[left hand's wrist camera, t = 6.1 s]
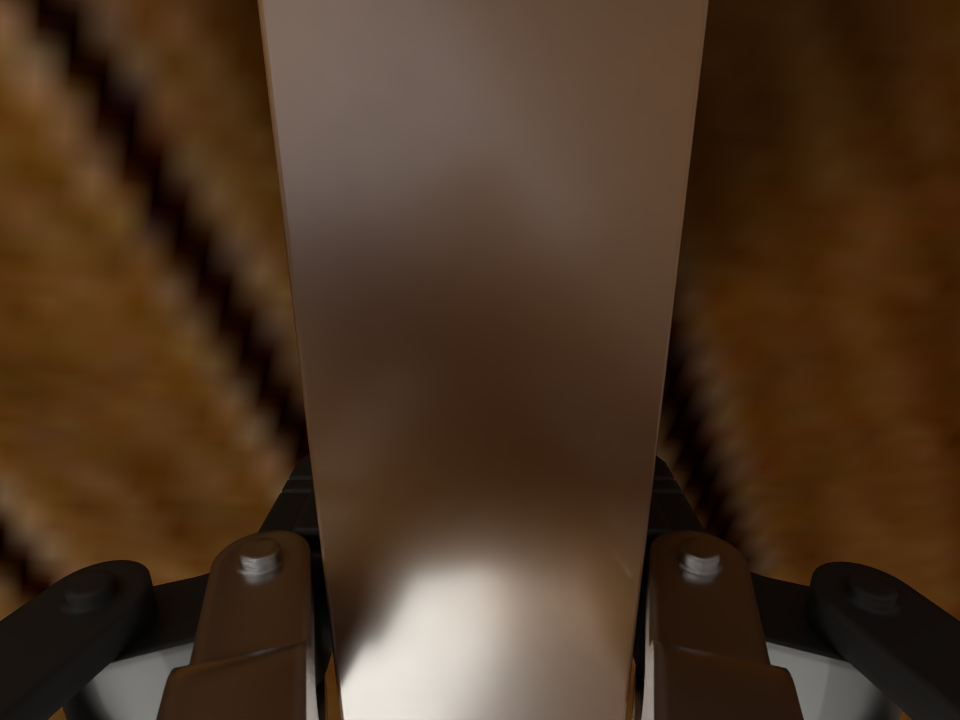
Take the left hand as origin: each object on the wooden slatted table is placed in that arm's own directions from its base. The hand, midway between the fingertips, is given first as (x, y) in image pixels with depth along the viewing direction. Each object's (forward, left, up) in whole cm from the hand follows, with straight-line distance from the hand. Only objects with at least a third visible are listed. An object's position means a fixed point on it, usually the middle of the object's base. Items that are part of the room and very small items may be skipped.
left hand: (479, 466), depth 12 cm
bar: (+7, +20, -2) cm, 21 cm away
